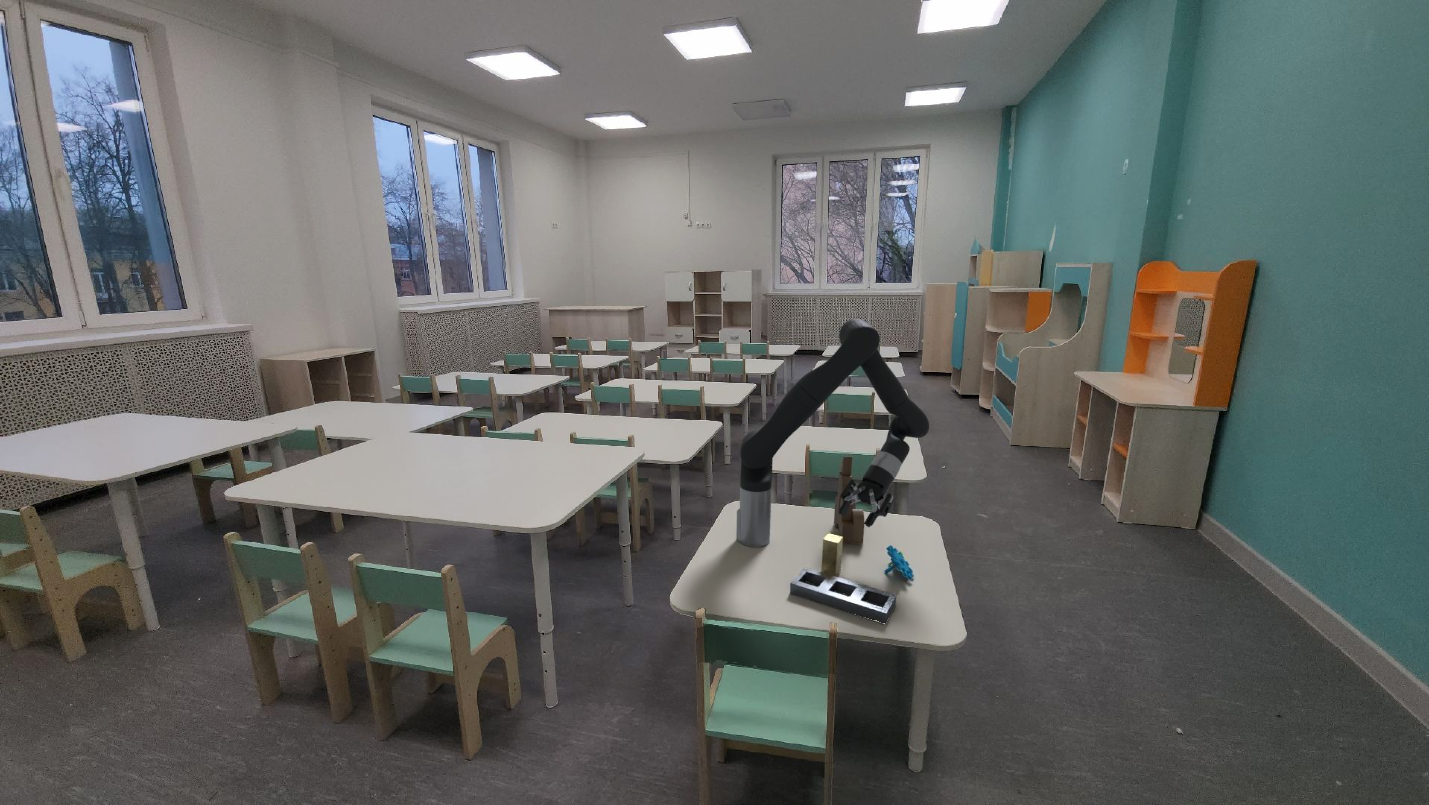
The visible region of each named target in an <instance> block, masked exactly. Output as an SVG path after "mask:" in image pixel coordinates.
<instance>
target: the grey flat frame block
mask: <svg viewBox="0 0 1429 805" xmlns="http://www.w3.org/2000/svg"><path fill="white" fill-rule="evenodd" d="M808 583H809V584H808ZM789 585H790V586H789V587H790V588H789V595H790V594H791V595H794V596H796V597H800V598H802V599H806V600H809V601H812V602H814V603H818V604H820V605H824V606H826V607H830V608H833V609H837V610H839V611H841V612H845V613H849V614H851V615H854V614H856V615H855V616H857V615H859V616H858V617H860V616H861V617H860V618H863V617H866V618H869V619H872V620H877V621H879V622H881V623H885V624H887V623H886V622H888V621H889V619H890V617H891V615H892V614H893V612H892V611H894V610H895V608H896V606H897V598H898V597H897V596H898V595H897V594H896V593H893V592H890V591H889V592H888V591H886V590H882V589H879V588H876V587H872V586H869V585H866V584H862V583H859V582H856V581H853V580H849V579H845V578H843V577H842V578H841V577H839V576H832V575H829V574H826V573H822V572H821V571H819V570H816V569H812V568H809V567H805V566H804V567H803V569H801V570H800V572H799V573H798V574H797V575H796V576H795V577H794V578H793V579H792V580H791V582H790V584H789ZM878 605H879V606H878ZM882 606H883V607H882ZM891 613H892V614H891ZM866 618H865V619H866ZM888 618H889V619H888ZM869 619H868V620H869ZM872 620H871V621H872ZM887 620H888V621H887ZM881 623H880V624H881Z"/></svg>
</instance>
